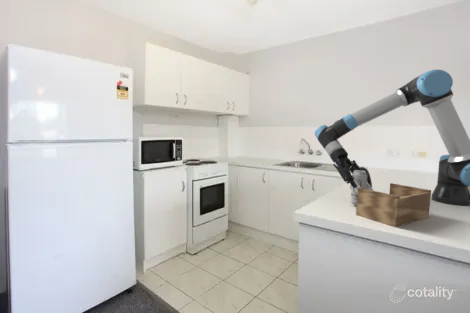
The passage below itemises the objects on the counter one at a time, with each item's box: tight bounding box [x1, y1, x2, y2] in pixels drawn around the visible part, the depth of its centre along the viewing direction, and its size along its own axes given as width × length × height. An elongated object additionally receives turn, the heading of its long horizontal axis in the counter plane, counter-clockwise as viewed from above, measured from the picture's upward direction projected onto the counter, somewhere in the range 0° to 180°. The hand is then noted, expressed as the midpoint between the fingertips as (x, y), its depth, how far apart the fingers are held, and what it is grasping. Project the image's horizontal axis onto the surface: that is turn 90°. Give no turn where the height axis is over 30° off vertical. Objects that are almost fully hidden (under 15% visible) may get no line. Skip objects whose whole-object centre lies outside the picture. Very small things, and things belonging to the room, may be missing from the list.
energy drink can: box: [350, 170, 367, 206], centre depth 113 cm, size 6×6×15 cm
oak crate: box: [355, 182, 432, 228], centre depth 100 cm, size 15×24×11 cm, turn 120°
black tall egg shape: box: [349, 166, 373, 189], centre depth 133 cm, size 10×10×15 cm
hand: (366, 192), depth 110 cm, fingers closed on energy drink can, 6 cm apart
